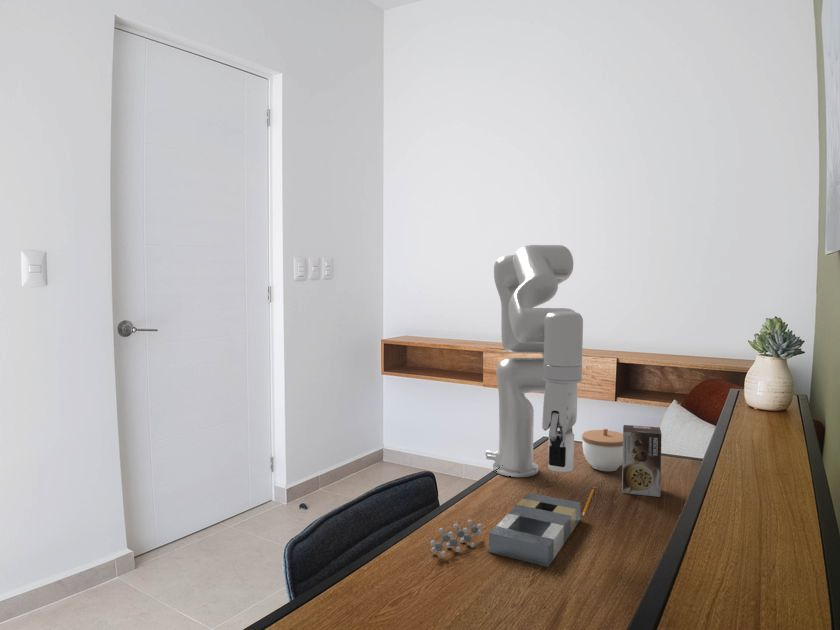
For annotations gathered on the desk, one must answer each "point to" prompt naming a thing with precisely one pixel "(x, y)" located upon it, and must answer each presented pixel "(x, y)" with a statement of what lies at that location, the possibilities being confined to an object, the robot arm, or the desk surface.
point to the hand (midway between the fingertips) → (560, 460)
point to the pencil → (588, 501)
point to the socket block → (535, 529)
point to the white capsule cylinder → (569, 454)
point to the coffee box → (641, 460)
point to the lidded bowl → (603, 449)
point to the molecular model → (454, 540)
